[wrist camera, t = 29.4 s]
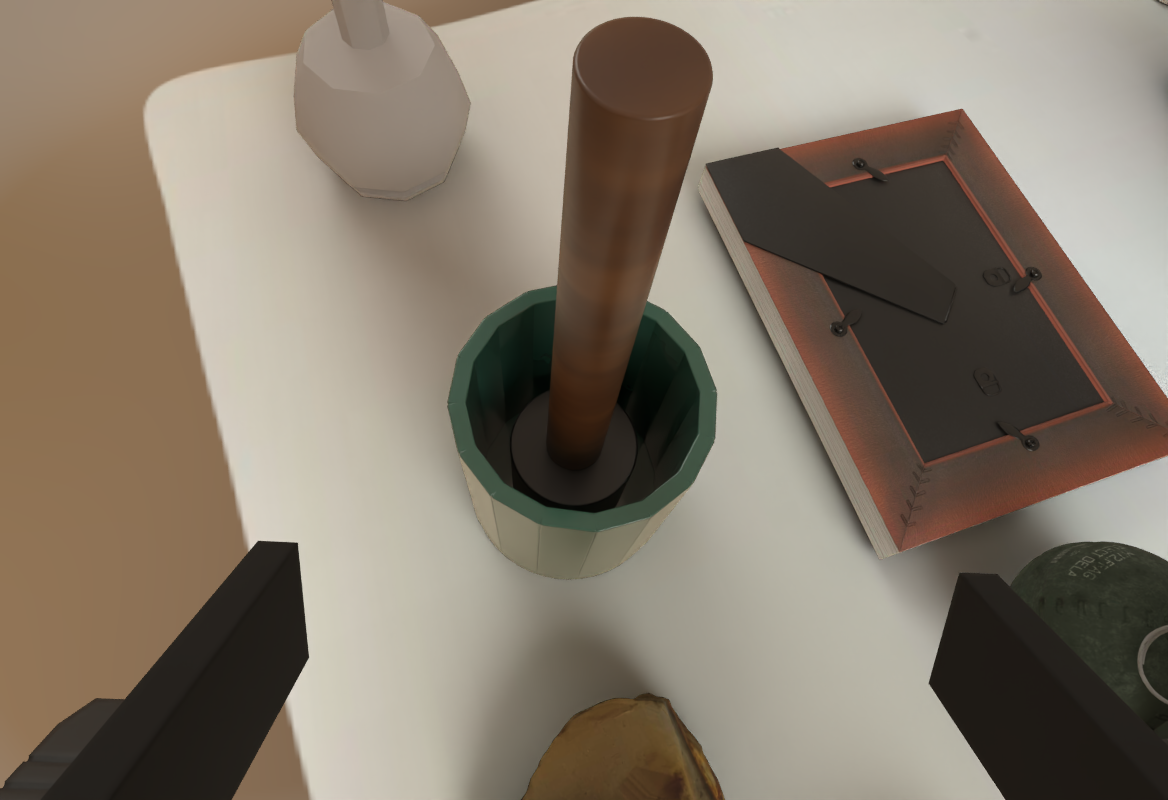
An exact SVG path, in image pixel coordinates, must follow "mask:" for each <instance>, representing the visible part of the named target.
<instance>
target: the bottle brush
mask: <svg viewBox="0 0 1168 800" xmlns="http://www.w3.org/2000/svg"><path fill="white" fill-rule="evenodd" d="M712 82H713V71H712V66H711V62H710V59H709V57H708V55H707V53H706V51H705V50H704V48H703V47H702V46H701V44H700V43H699V42H698V41H697V40H696V39H695V38H694V37H692V36H691V35H690V34H689V33H687V32H685V31H684V30H682V29H681V28H679V27H677V26H675V25H672V24H670V23H667V22H664V21H661V20H657V19H652V18H645V17H624V18H618V19H614V20H610V21H607V22H605V23H602V24H600V25H598V26H597V27H595V28H593V29H592V30H591V31H589V32H588V33H587V34H586V35H585V36H584V37H583V39H582V40H581V41H580V43H579V44H578V46H577V48H576V50H575V53H574V57H573V68H572V82H571V96H570V110H569V125H568V139H567V153H566V167H565V182H564V196H563V210H562V224H561V238H560V253H559V267H558V281H557V295H556V310H555V324H554V338H553V352H552V367H551V381H550V390H548V391H546V392H543V393H542V394H540V395H538V396H536V397H535V398H534V399H532V400H531V401H530V402H529V403H528V404H527V405H526V406H525V407H524V408H523V409H522V411H521V412H520V413H519V415H518V417H517V419H516V420H515V423H514V425H513V428H512V432H511V437H510V455H511V468H512V481H513V488H514V489H516V490H518V491H520V492H521V493H523V494H525V495H527V496H528V497H530V498H532V499H534V500H535V501H537V502H539V503H541V504H542V505H544V506H546V507H552V508H560V509H567V510H575V511H583V512H590V513H597V512H601V511H604V510H608V509H612V508H615V507H616V505H617V503H618V501H619V499H620V497H621V495H622V493H623V491H624V488H625V486H626V484H627V482H628V480H629V478H630V476H631V473H632V471H633V469H634V466H635V463H636V460H637V453H638V443H637V436H636V432H635V428H634V426H633V423H632V421H631V420H630V418H629V416H628V414H627V413H626V412H625V410H624V409H623V408H622V407H621V406H620V405H619V404H618V403H617V398H618V395H619V392H620V388H621V385H622V382H623V378H624V375H625V372H626V369H627V365H628V362H629V359H630V355H631V352H632V349H633V345H634V342H635V339H636V335H637V332H638V329H639V325H640V322H641V319H642V316H643V312H644V309H645V306H646V302H647V299H648V296H649V292H650V289H651V286H652V282H653V279H654V276H655V272H656V269H657V266H658V262H659V259H660V256H661V253H662V249H663V246H664V243H665V239H666V236H667V233H668V229H669V226H670V223H671V219H672V216H673V213H674V209H675V206H676V203H677V200H678V196H679V193H680V190H681V186H682V183H683V180H684V176H685V173H686V170H687V166H688V163H689V160H690V156H691V153H692V150H693V146H694V143H695V140H696V137H697V133H698V130H699V127H700V123H701V120H702V117H703V113H704V110H705V107H706V103H707V100H708V97H709V93H710V90H711V87H712Z"/></svg>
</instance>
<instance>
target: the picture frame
mask: <svg viewBox="0 0 1168 800" xmlns="http://www.w3.org/2000/svg"><path fill="white" fill-rule="evenodd" d="M698 191H699V193H700V195H701V197H702V199H703V201H704V203H705V205H706V207H707V209H708V211H709V213H710V215H711V217H712V219H713V221H714V223H715V225H716V227H717V229H718V232H719V234H720V236H721V238H722V240H723V242H724V244H725V246H726V248H727V250H728V252H729V254H730V256H731V258H732V260H733V262H734V264H735V266H736V268H737V270H738V272H739V274H740V276H741V278H742V280H743V282H744V285H745V287H746V289H747V291H748V293H749V295H750V297H751V299H752V301H753V303H754V305H755V307H756V309H757V311H758V313H759V315H760V317H761V319H762V321H763V323H764V325H765V327H766V329H767V331H768V333H769V336H770V338H771V340H772V342H773V344H774V346H775V348H776V350H777V352H778V354H779V356H780V358H781V360H782V362H783V364H784V366H785V368H786V370H787V372H788V374H789V376H790V378H791V380H792V382H793V384H794V386H795V389H796V391H797V393H798V395H799V397H800V399H801V401H802V403H803V405H804V407H805V409H806V411H807V413H808V415H809V417H810V419H811V421H812V423H813V425H814V427H815V429H816V431H817V433H818V435H819V437H820V440H821V442H822V444H823V446H824V448H825V450H826V452H827V454H828V456H829V458H830V460H831V462H832V464H833V466H834V468H835V470H836V472H837V474H838V476H839V478H840V480H841V482H842V484H843V486H844V488H845V490H846V493H847V495H848V497H849V499H850V501H851V503H852V505H853V507H854V509H855V511H856V513H857V515H858V517H859V519H860V521H861V523H862V525H863V527H864V529H865V531H866V533H867V535H868V537H869V539H870V541H871V544H872V546H873V548H874V550H875V552H876V554H877V556H878V558H879V560H881V559H884V558H887V557H889V556H892V555H895V554H898V553H900V552H903V551H906V550H909V549H911V548H914V547H917V546H920V545H923V544H925V543H928V542H931V541H934V540H936V539H939V538H942V537H945V536H947V535H950V534H953V533H956V532H958V531H961V530H964V529H967V528H970V527H972V526H975V525H978V524H981V523H983V522H986V521H989V520H992V519H994V518H997V517H1000V516H1003V515H1006V514H1008V513H1011V512H1014V511H1017V510H1019V509H1022V508H1025V507H1028V506H1030V505H1033V504H1036V503H1039V502H1042V501H1044V500H1047V499H1050V498H1053V497H1055V496H1058V495H1061V494H1064V493H1066V492H1069V491H1072V490H1075V489H1078V488H1080V487H1083V486H1086V485H1089V484H1091V483H1094V482H1097V481H1100V480H1102V479H1105V478H1108V477H1111V476H1114V475H1116V474H1119V473H1122V472H1125V471H1127V470H1130V469H1133V468H1136V467H1138V466H1141V465H1144V464H1147V463H1149V462H1152V461H1155V460H1158V459H1161V458H1163V457H1166V456H1168V398H1167V397H1166V395H1165V394H1164V393H1163V391H1162V390H1161V388H1160V387H1159V385H1158V384H1157V383H1156V381H1155V380H1154V378H1153V377H1152V376H1151V374H1150V373H1149V371H1148V370H1147V369H1146V367H1145V366H1144V364H1143V363H1142V361H1141V360H1140V359H1139V357H1138V356H1137V354H1136V353H1135V352H1134V350H1133V349H1132V347H1131V346H1130V345H1129V343H1128V342H1127V340H1126V339H1125V337H1124V336H1123V335H1122V333H1121V332H1120V330H1119V329H1118V328H1117V326H1116V325H1115V323H1114V322H1113V321H1112V319H1111V318H1110V316H1109V315H1108V313H1107V312H1106V311H1105V309H1104V308H1103V306H1102V305H1101V304H1100V302H1099V301H1098V299H1097V298H1096V297H1095V295H1094V294H1093V292H1092V291H1091V289H1090V288H1089V287H1088V285H1087V284H1086V282H1085V281H1084V280H1083V278H1082V277H1081V275H1080V274H1079V273H1078V271H1077V270H1076V268H1075V267H1074V265H1073V264H1072V263H1071V261H1070V260H1069V258H1068V257H1067V256H1066V254H1065V253H1064V251H1063V250H1062V249H1061V247H1060V246H1059V244H1058V243H1057V241H1056V240H1055V239H1054V237H1053V236H1052V234H1051V233H1050V232H1049V230H1048V229H1047V227H1046V226H1045V224H1044V223H1043V222H1042V220H1041V219H1040V217H1039V216H1038V215H1037V213H1036V212H1035V210H1034V209H1033V208H1032V206H1031V205H1030V203H1029V202H1028V200H1027V199H1026V198H1025V196H1024V195H1023V193H1022V192H1021V191H1020V189H1019V188H1018V186H1017V185H1016V184H1015V182H1014V181H1013V179H1012V178H1011V176H1010V175H1009V174H1008V172H1007V171H1006V169H1005V168H1004V167H1003V165H1002V164H1001V162H1000V161H999V160H998V158H997V157H996V155H995V154H994V152H993V151H992V150H991V148H990V147H989V145H988V144H987V143H986V141H985V140H984V138H983V137H982V136H981V134H980V133H979V131H978V130H977V128H976V127H975V126H974V124H973V123H972V121H971V120H970V119H969V117H968V116H967V114H966V113H965V112H964V110H963V109H959V110H954V111H950V112H945V113H941V114H936V115H932V116H927V117H923V118H918V119H914V120H909V121H905V122H900V123H896V124H891V125H887V126H882V127H878V128H873V129H869V130H864V131H860V132H855V133H851V134H846V135H842V136H837V137H833V138H828V139H824V140H819V141H815V142H810V143H806V144H801V145H797V146H792V147H788V148H783V149H779V148H774V149H770V150H765V151H761V152H756V153H752V154H747V155H743V156H738V157H734V158H729V159H725V160H721V161H716V162H712V163H707V164H706V166H705V168H704V171H703V174H702V177H701V180H700V183H699V186H698Z"/></svg>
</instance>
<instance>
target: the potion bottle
mask: <svg viewBox="0 0 1168 800" xmlns="http://www.w3.org/2000/svg"><path fill="white" fill-rule="evenodd" d="M331 1H332V4H333V9H332V10H331V11H330V12H328V13H327V14H326V15H325V16H323V17H322V18H321V19H319V20H318V21H317V22H316V23H314V24H313V25H312V26H311V27H309V28H308V29H307V30H306V31H305V33H304V36H303V38H302V41H301V44H300V46H299V49H298V52H297V56H296V71H295V85H294V105H295V117H296V129H297V131H298V133H299V134H300V135H301V136H302V138H303V139H304V140H305V141H306V143H307V144H308V145H309V146H310V148H311V149H312V150H313V151H314V153H315V154H316V155H317V156H318V157H319V158H320V159H321V160H322V161H323V162H324V163H325V164H326V165H328V166H329V167H330V168H331V169H332V170H333V171H334V172H335V173H336V174H337V175H339V176H340V177H341V178H342V179H343V180H344V181H345V182H346V183H347V184H348V185H350V186H351V187H352V188H353V189H354V190H356V191H357V192H358V193H359V194H360V195H361V196H363V197H373V198H383V199H393V200H403V201H407V200H409V199H411V198H413V197H415V196H417V195H419V194H421V193H423V192H425V191H427V190H429V189H431V188H433V187H435V186H437V185H439V184H441V183H443V182H444V181H445V178H446V176H447V174H448V171H449V169H450V167H451V164H452V162H453V159H454V157H455V155H456V152H457V150H458V148H459V145H460V143H461V140H462V138H463V136H464V133H465V129H466V124H467V120H468V115H469V110H470V105H471V102H470V100H469V97H468V95H467V92H466V90H465V87H464V85H463V83H462V80H461V78H460V75H459V73H458V71H457V69H456V67H455V65H454V64H453V62H452V60H451V58H450V56H449V55H448V53H447V51H446V49H445V48H444V46H443V44H442V42H441V40H440V39H439V37H438V35H437V34H436V33H435V32H434V31H433V30H432V29H431V28H430V27H429V26H428V25H427V24H426V23H425V22H424V20H423V19H422V18H421V17H420V16H418V15H416V14H413V13H410V12H408V11H405V10H403V9H400V8H398V7H395V6H393V5H390V4H387V3H385V2H383V0H331Z"/></svg>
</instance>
